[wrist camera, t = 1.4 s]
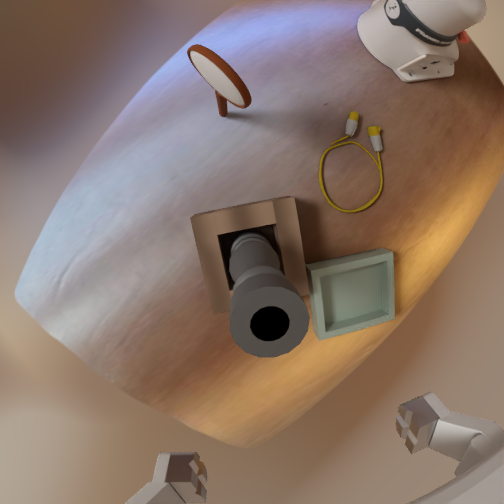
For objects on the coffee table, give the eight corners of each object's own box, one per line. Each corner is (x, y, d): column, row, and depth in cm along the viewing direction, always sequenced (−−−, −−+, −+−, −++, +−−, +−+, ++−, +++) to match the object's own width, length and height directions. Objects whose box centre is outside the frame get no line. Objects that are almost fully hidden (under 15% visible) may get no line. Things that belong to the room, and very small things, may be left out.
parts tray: (383, 247, 46) (393, 251, 42) (385, 311, 48) (394, 318, 45) (305, 264, 45) (310, 270, 42) (313, 330, 48) (319, 340, 44)
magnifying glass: (200, 100, 39) (176, 38, 19) (208, 92, 39) (191, 27, 19) (239, 138, 41) (244, 96, 21) (247, 130, 40) (259, 84, 21)
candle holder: (257, 222, 43) (287, 265, 19) (278, 256, 45) (326, 334, 20) (222, 243, 44) (208, 311, 19) (243, 277, 45) (254, 373, 21)
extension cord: (403, 156, 43) (409, 155, 41) (353, 226, 45) (358, 228, 43) (353, 107, 41) (357, 104, 39) (296, 177, 43) (299, 177, 41)
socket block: (287, 196, 43) (294, 196, 38) (301, 283, 46) (309, 294, 41) (195, 214, 43) (190, 217, 38) (215, 301, 46) (213, 314, 41)
